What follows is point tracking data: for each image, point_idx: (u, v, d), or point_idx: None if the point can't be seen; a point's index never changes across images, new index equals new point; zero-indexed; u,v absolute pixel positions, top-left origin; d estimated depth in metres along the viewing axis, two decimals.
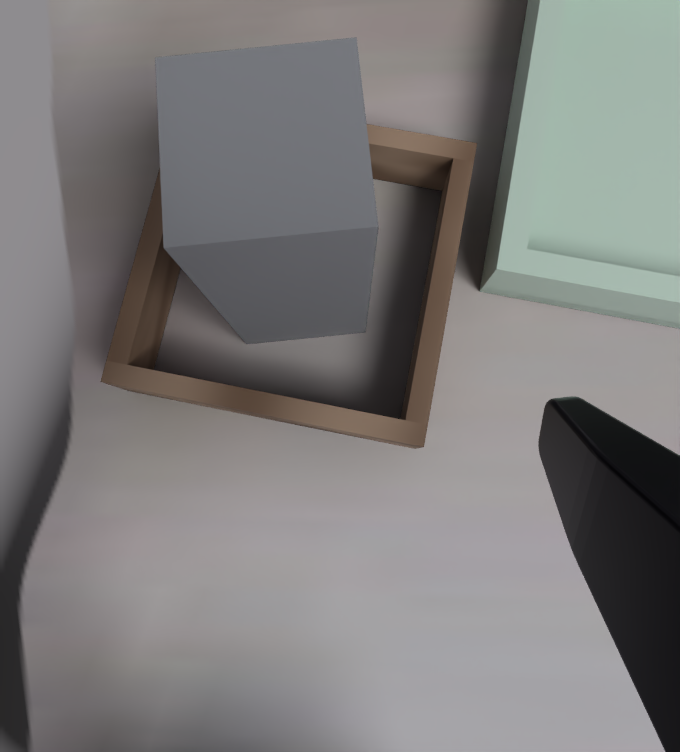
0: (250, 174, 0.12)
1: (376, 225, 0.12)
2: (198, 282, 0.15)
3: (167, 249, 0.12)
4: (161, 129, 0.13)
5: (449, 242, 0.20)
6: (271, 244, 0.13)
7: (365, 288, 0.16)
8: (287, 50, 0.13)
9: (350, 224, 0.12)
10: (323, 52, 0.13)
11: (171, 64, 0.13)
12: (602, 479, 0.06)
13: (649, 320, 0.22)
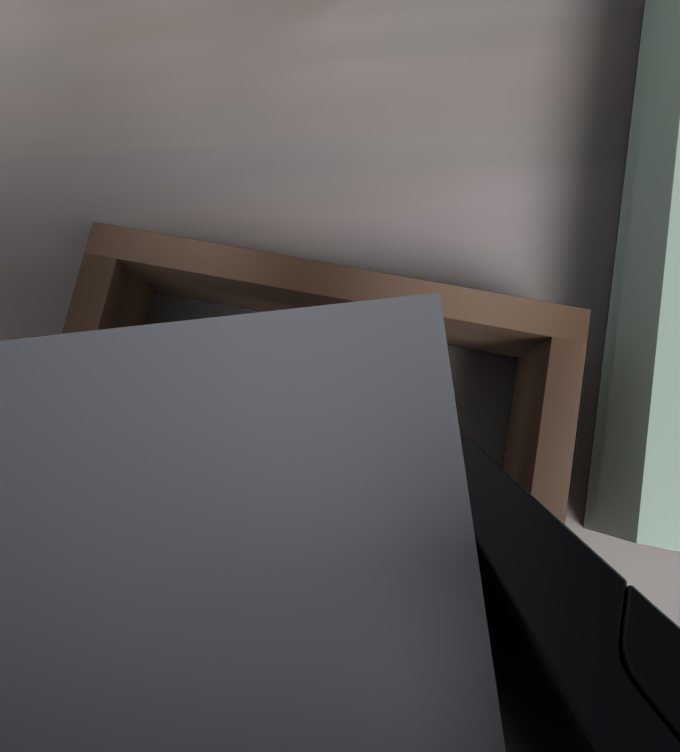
0: (131, 750, 0.04)
1: None
2: None
3: None
4: None
5: (550, 489, 0.12)
6: None
7: None
8: (245, 334, 0.05)
9: None
10: (348, 340, 0.05)
11: None
12: None
13: None
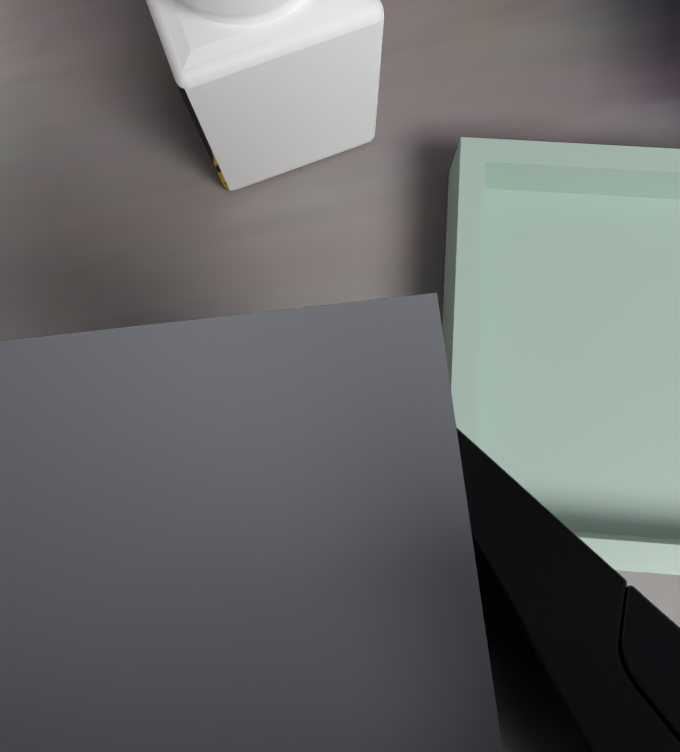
0: (127, 751, 0.04)
1: None
2: None
3: None
4: None
5: None
6: None
7: None
8: (243, 333, 0.05)
9: None
10: (345, 341, 0.05)
11: None
12: None
13: None
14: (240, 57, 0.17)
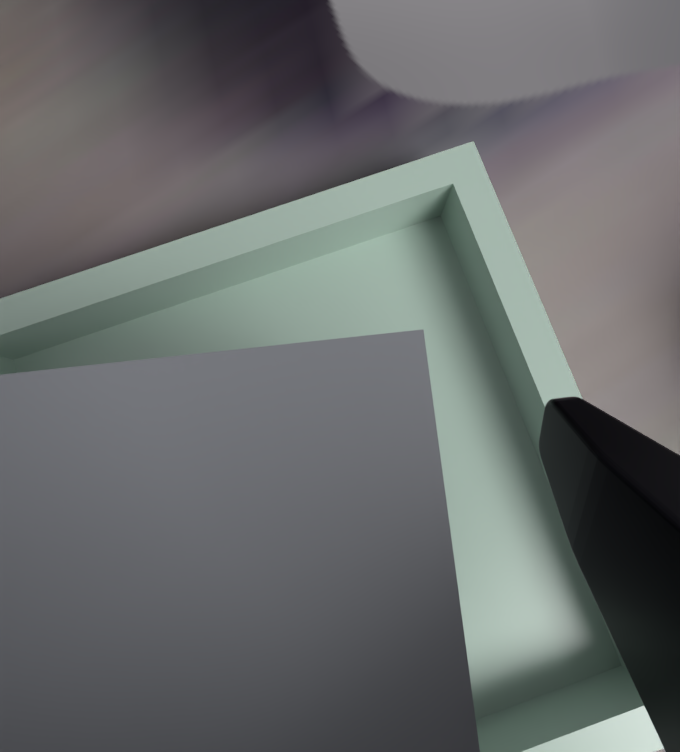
0: (187, 679, 0.05)
1: None
2: None
3: None
4: None
5: None
6: None
7: None
8: (272, 361, 0.06)
9: None
10: (351, 366, 0.06)
11: (15, 394, 0.06)
12: (602, 479, 0.06)
13: None
14: None
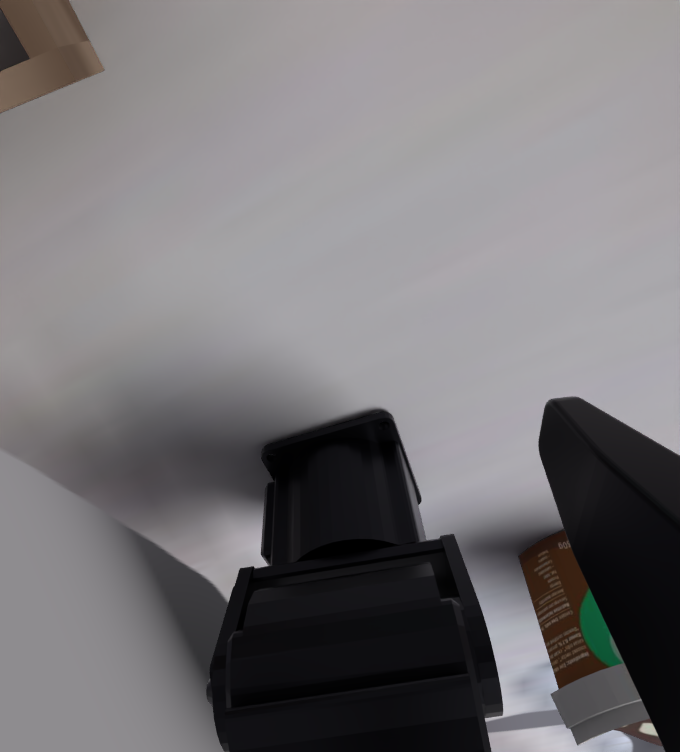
0: None
1: None
2: None
3: None
4: None
5: None
6: None
7: None
8: None
9: None
10: None
11: None
12: (602, 479, 0.06)
13: None
14: None
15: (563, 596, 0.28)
